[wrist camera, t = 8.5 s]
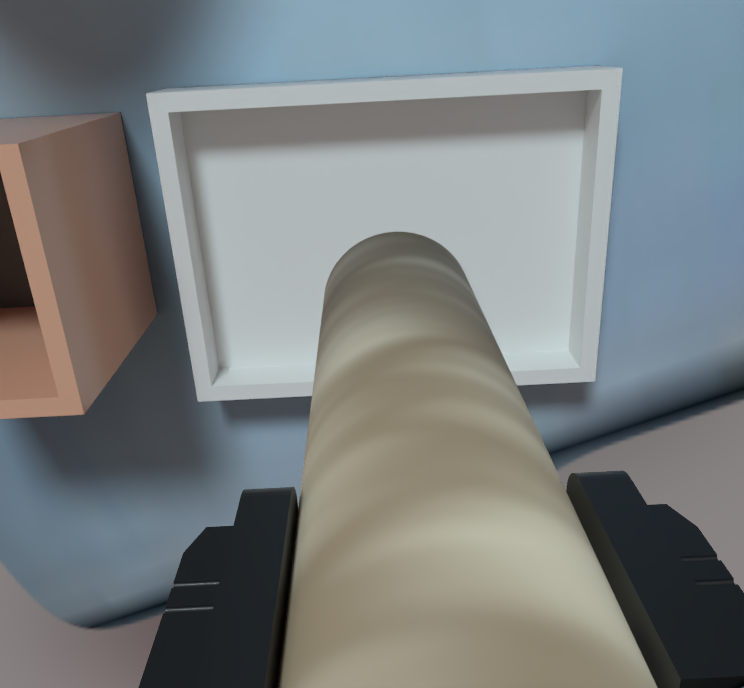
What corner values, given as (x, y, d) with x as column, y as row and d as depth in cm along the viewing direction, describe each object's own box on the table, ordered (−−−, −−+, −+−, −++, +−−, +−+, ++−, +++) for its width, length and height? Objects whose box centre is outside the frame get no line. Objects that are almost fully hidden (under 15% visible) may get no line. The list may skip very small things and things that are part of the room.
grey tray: (598, 65, 24) (622, 68, 22) (576, 355, 29) (594, 381, 26) (165, 88, 24) (145, 93, 22) (210, 373, 29) (197, 401, 26)
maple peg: (470, 227, 18) (738, 666, 6) (468, 365, 20) (673, 952, 7) (318, 235, 18) (232, 692, 6) (328, 372, 20) (281, 973, 7)
